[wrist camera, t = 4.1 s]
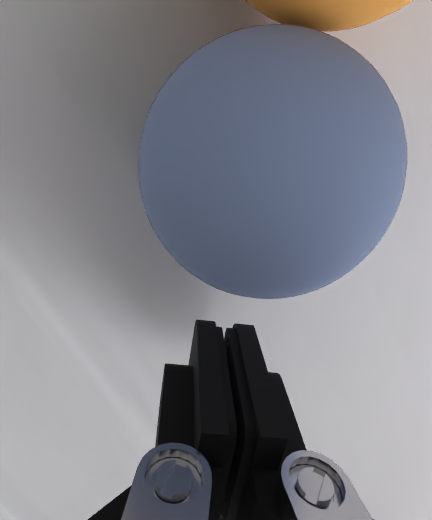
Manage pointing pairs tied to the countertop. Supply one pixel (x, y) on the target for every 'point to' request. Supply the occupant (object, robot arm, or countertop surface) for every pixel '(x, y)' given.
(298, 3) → the orange ball
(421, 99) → the countertop surface
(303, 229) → the blue ball
